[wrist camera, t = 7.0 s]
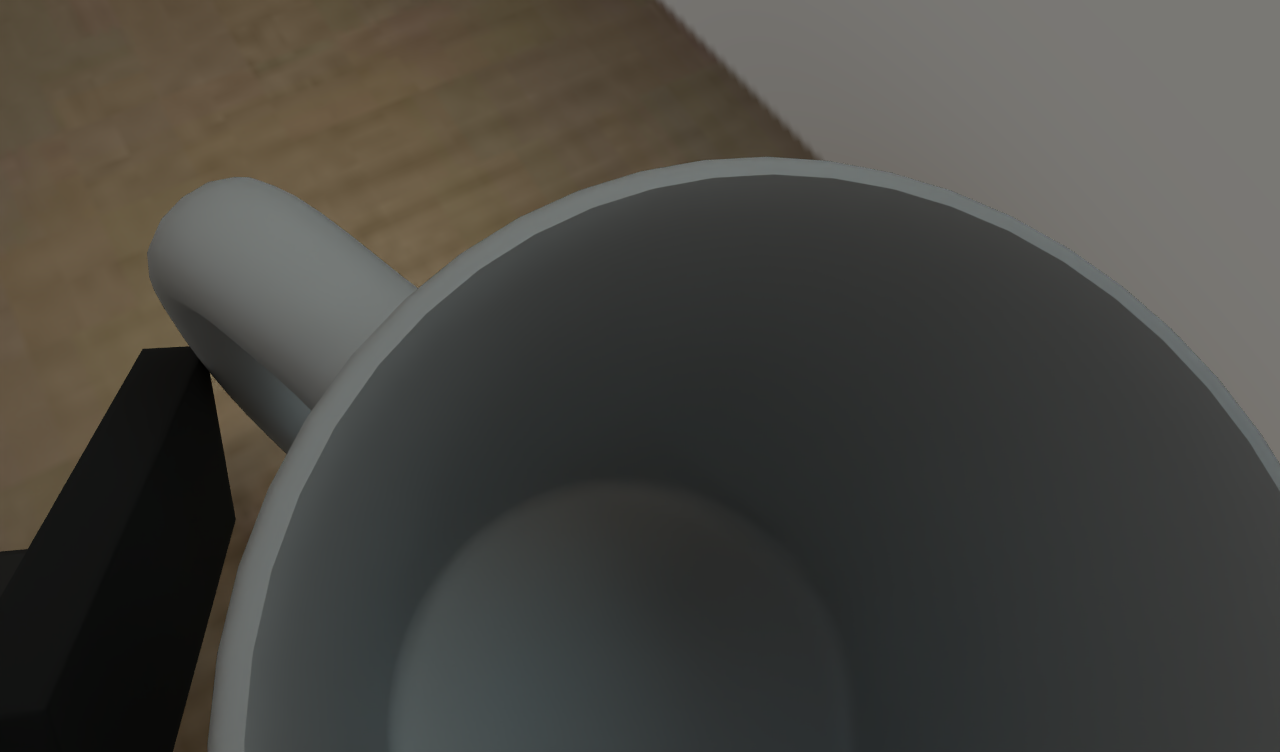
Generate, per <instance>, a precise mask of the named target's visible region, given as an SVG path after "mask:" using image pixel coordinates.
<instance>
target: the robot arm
mask: <svg viewBox="0 0 1280 752" xmlns="http://www.w3.org/2000/svg"><path fill="white" fill-rule="evenodd" d="M235 520H236V518H235V513H234V507H233V501H232V496H231V490H230V484H229V479H228V473H227V467H226V462H225V456H224V450H223V445H222V439H221V434H220V428H219V422H218V417H217V411H216V405H215V400H214V394H213V388H212V383H211V377H210V372H209V371H208V369H207V368H206V367H205V366H204V364H203V363H202V362H201V361H200V359H199V358H198V357H197V355H196V354H195V353H194V351H193V350H192V349H191V347H190V346H189V347H170V348H152V349H142V351H141V353H140V355H139V356H138V358H137V360H136V362H135V363H134V365H133V367H132V369H131V370H130V372H129V374H128V376H127V377H126V379H125V381H124V383H123V384H122V386H121V388H120V390H119V391H118V393H117V395H116V396H115V398H114V400H113V402H112V403H111V405H110V407H109V409H108V410H107V412H106V414H105V416H104V417H103V419H102V421H101V423H100V424H99V426H98V428H97V430H96V431H95V433H94V435H93V437H92V438H91V440H90V442H89V444H88V445H87V447H86V449H85V451H84V452H83V454H82V456H81V457H80V459H79V461H78V463H77V464H76V466H75V468H74V470H73V471H72V473H71V475H70V477H69V478H68V480H67V482H66V484H65V485H64V487H63V489H62V491H61V492H60V494H59V496H58V498H57V499H56V501H55V503H54V505H53V506H52V508H51V510H50V512H49V513H48V515H47V517H46V518H45V520H44V522H43V524H42V525H41V527H40V529H39V531H38V532H37V534H36V536H35V538H34V539H33V541H32V543H31V545H30V546H29V548H28V549H24V550H13V551H2V552H0V752H173V749H174V745H175V741H176V738H177V734H178V730H179V727H180V723H181V719H182V716H183V712H184V708H185V705H186V701H187V697H188V693H189V690H190V686H191V682H192V679H193V675H194V671H195V668H196V664H197V660H198V656H199V653H200V649H201V645H202V642H203V638H204V634H205V631H206V627H207V623H208V620H209V616H210V612H211V608H212V605H213V601H214V597H215V594H216V590H217V586H218V583H219V579H220V575H221V572H222V568H223V564H224V560H225V557H226V553H227V549H228V546H229V542H230V538H231V535H232V531H233V527H234V524H235Z"/></svg>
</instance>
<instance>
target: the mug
mask: <svg viewBox="0 0 1280 752" xmlns="http://www.w3.org/2000/svg"><path fill="white" fill-rule="evenodd" d="M147 256H148V267H149V277H150V280H151V283H152V286H153V289H154V291H155V293H156V294H157V296H158V298H159V300H160V302H161V303H162V305H163V307H164V309H165V310H166V312H167V313H168V315H169V316H170V318H171V319H172V321H173V322H174V324H175V326H176V327H177V329H178V330H179V332H180V333H181V335H182V336H183V338H184V339H185V341H186V342H187V343H188V345H189V346H190V347H191V349H192V350H193V351H194V353H195V354H196V355H197V357H198V358H199V359H200V361H201V362H202V363H203V364H204V366H205V367H206V368H207V369H208V371H209V372H210V373H211V374H212V376H213V377H214V378H215V379H216V381H217V382H218V383H219V384H220V385H221V386H222V387H223V389H224V390H225V391H226V392H227V393H228V394H229V396H230V397H231V398H232V399H233V400H234V401H235V402H236V403H237V404H238V406H239V407H240V408H241V409H242V410H243V411H244V412H245V413H246V414H247V415H248V416H249V417H250V418H251V419H252V420H253V421H254V422H255V423H256V424H257V425H258V427H259V428H260V429H261V430H262V431H263V432H264V433H265V434H266V435H267V436H269V437H270V438H271V439H272V440H273V441H274V442H275V443H276V444H277V445H278V446H279V447H280V448H281V449H282V450H283V451H284V452H285V453H286V454H287V455H286V457H285V459H284V461H283V462H282V464H281V466H280V468H279V470H278V472H277V474H276V475H275V477H274V479H273V481H272V483H271V485H270V487H269V488H268V491H267V494H266V496H265V499H264V501H263V504H262V507H261V509H260V512H259V514H258V517H257V520H256V522H255V525H254V527H253V530H252V533H251V535H250V538H249V540H248V543H247V546H246V548H245V551H244V554H243V556H242V559H241V561H240V564H239V567H238V570H237V574H236V578H235V583H234V587H233V591H232V595H231V599H230V603H229V607H228V612H227V616H226V620H225V624H224V628H223V632H222V636H221V640H220V645H219V649H218V653H217V662H216V671H215V680H214V689H213V699H212V708H211V717H210V726H209V736H208V752H1280V464H1279V462H1278V460H1277V459H1276V457H1275V456H1274V454H1273V452H1272V451H1271V449H1270V448H1269V446H1268V444H1267V443H1266V441H1265V440H1264V438H1263V436H1262V435H1261V433H1260V432H1259V431H1258V429H1257V428H1256V427H1255V426H1254V424H1253V423H1252V422H1251V420H1250V419H1249V418H1248V417H1247V415H1246V414H1245V413H1244V411H1243V410H1242V409H1241V407H1240V406H1239V405H1238V404H1237V402H1236V401H1235V400H1234V398H1233V397H1232V396H1231V394H1230V393H1229V392H1228V390H1227V389H1226V388H1225V386H1224V385H1223V384H1222V383H1221V381H1220V380H1219V379H1218V378H1217V377H1216V376H1215V375H1214V373H1213V372H1212V371H1211V370H1210V369H1209V368H1208V367H1207V366H1206V365H1205V364H1204V363H1203V362H1202V361H1201V360H1200V359H1199V358H1198V356H1197V355H1195V353H1194V352H1193V351H1192V350H1191V349H1190V348H1189V347H1188V346H1187V345H1186V344H1185V343H1184V342H1183V341H1182V340H1181V339H1180V338H1179V336H1178V335H1177V334H1176V333H1175V332H1174V331H1173V330H1172V329H1171V328H1170V327H1169V326H1167V325H1166V324H1165V323H1164V322H1163V321H1162V320H1160V319H1159V318H1158V317H1157V316H1156V315H1155V314H1154V313H1152V312H1151V311H1150V310H1149V309H1148V308H1147V307H1146V306H1144V305H1143V304H1142V303H1141V302H1140V301H1139V300H1137V299H1136V298H1135V297H1134V296H1133V295H1132V294H1130V293H1129V292H1128V291H1127V290H1126V289H1125V288H1124V287H1123V286H1121V285H1120V284H1118V283H1117V282H1116V281H1114V280H1113V279H1111V278H1110V277H1109V276H1107V275H1105V274H1104V273H1103V272H1101V271H1100V270H1099V269H1097V268H1096V267H1094V266H1093V265H1092V264H1090V263H1089V262H1087V261H1086V260H1084V259H1083V258H1082V257H1080V256H1079V255H1077V254H1076V253H1075V252H1073V251H1072V250H1070V249H1069V248H1067V247H1065V246H1064V245H1062V244H1060V243H1058V242H1056V241H1055V240H1053V239H1051V238H1049V237H1048V236H1046V235H1044V234H1042V233H1040V232H1039V231H1037V230H1035V229H1033V228H1032V227H1030V226H1028V225H1026V224H1024V223H1022V222H1021V221H1019V220H1017V219H1016V218H1014V217H1012V216H1010V215H1007V214H1005V213H1003V212H1000V211H998V210H996V209H993V208H991V207H988V206H986V205H984V204H981V203H979V202H977V201H974V200H972V199H970V198H967V197H965V196H963V195H960V194H958V193H955V192H953V191H950V190H947V189H944V188H941V187H937V186H934V185H930V184H927V183H924V182H921V181H917V180H914V179H911V178H907V177H904V176H901V175H898V174H894V173H891V172H886V171H880V170H875V169H869V168H864V167H859V166H853V165H847V164H843V163H837V162H832V161H821V160H806V159H792V158H777V157H754V158H736V159H717V160H702V161H697V162H691V163H685V164H680V165H674V166H669V167H663V168H657V169H652V170H646V171H641V172H638V173H634V174H631V175H628V176H625V177H621V178H618V179H615V180H612V181H608V182H605V183H602V184H599V185H595V186H592V187H589V188H586V189H582V190H579V191H577V192H575V193H572V194H570V195H568V196H566V197H563V198H561V199H559V200H557V201H555V202H552V203H550V204H548V205H546V206H544V207H541V208H539V209H537V210H535V211H532V212H530V213H528V214H526V215H524V216H521V217H519V218H517V219H516V220H514V221H512V222H511V223H509V224H508V225H506V226H504V227H503V228H501V229H500V230H498V231H496V232H495V233H493V234H492V235H490V236H488V237H487V238H485V239H484V240H482V241H480V242H479V243H477V244H476V245H474V246H472V247H471V248H469V249H468V250H466V251H464V252H463V253H461V254H460V255H458V256H457V257H456V258H455V259H454V260H452V261H451V262H450V263H449V264H447V265H446V266H445V267H444V268H443V269H441V270H440V271H439V272H438V273H436V274H435V275H434V276H433V277H431V278H430V279H429V280H428V281H427V282H425V283H424V284H423V285H422V286H420V287H419V288H417V287H416V286H414V285H413V284H412V283H410V282H409V281H408V280H406V279H405V278H404V277H402V276H401V275H400V274H399V273H397V272H396V271H395V270H394V269H392V268H391V267H390V266H389V265H387V264H386V263H385V262H384V261H382V260H381V259H380V258H379V257H377V256H376V255H375V254H374V253H372V252H371V251H370V250H369V249H367V248H366V247H365V246H364V245H362V244H361V243H360V242H359V241H357V240H356V239H355V238H354V237H352V236H351V235H350V234H349V233H347V232H346V231H345V230H343V229H342V228H341V227H339V226H338V225H337V224H335V223H334V222H333V221H331V220H330V219H329V218H327V217H326V216H325V215H323V214H322V213H321V212H319V211H318V210H316V209H315V208H313V207H311V206H310V205H308V204H307V203H305V202H304V201H302V200H301V199H299V198H298V197H296V196H294V195H292V194H290V193H288V192H286V191H284V190H282V189H280V188H278V187H275V186H273V185H270V184H267V183H265V182H262V181H259V180H256V179H253V178H249V177H233V178H227V179H222V180H217V181H212V182H208V183H206V184H204V185H203V186H201V187H199V188H197V189H196V190H194V191H192V192H191V193H189V194H187V195H185V196H184V197H182V198H181V199H180V200H179V201H178V202H177V203H176V205H175V206H174V207H173V208H172V209H171V210H170V211H169V212H168V213H167V214H166V215H165V216H164V217H163V218H162V219H161V221H160V223H159V226H158V228H157V230H156V233H155V235H154V237H153V239H152V242H151V244H150V246H149V249H148V252H147Z"/></svg>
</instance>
